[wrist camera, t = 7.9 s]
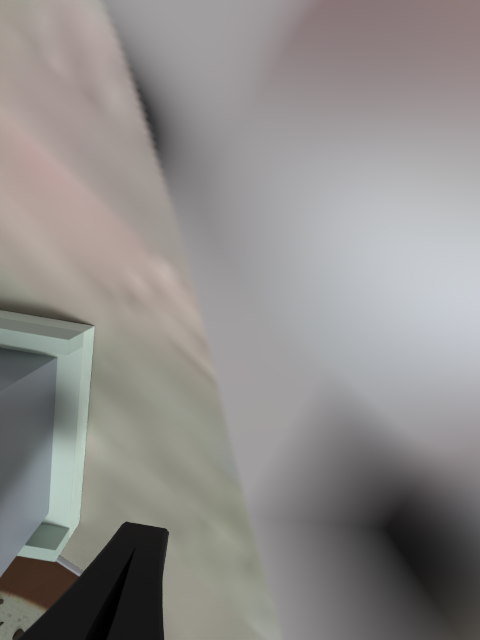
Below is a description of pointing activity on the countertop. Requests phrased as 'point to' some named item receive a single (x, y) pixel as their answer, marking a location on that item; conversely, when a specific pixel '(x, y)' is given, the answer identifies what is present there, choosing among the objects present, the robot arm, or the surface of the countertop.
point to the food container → (31, 591)
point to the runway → (58, 419)
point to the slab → (24, 446)
